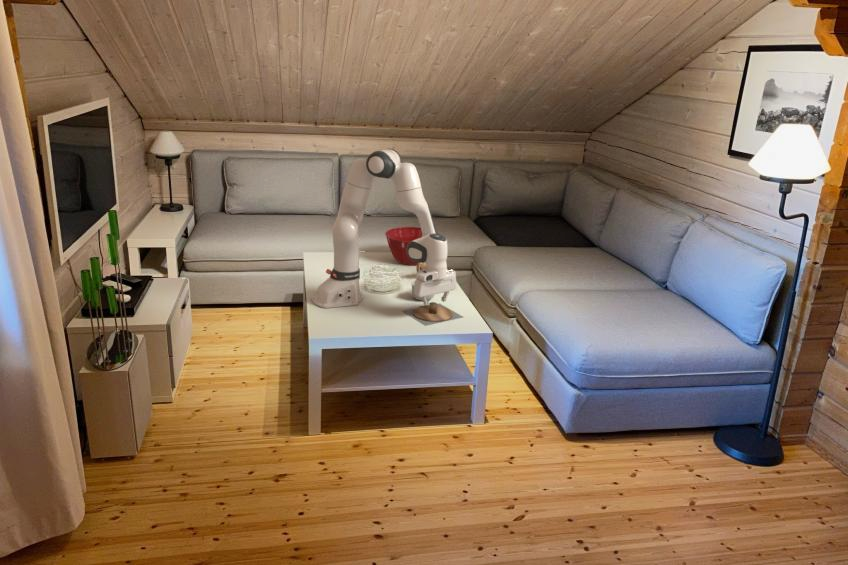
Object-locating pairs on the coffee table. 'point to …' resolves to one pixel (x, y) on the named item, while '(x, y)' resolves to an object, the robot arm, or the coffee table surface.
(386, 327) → the coffee table surface
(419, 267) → the lion figurine
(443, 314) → the lid
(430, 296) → the teacup
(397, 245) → the mixing bowl
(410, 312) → the mat
